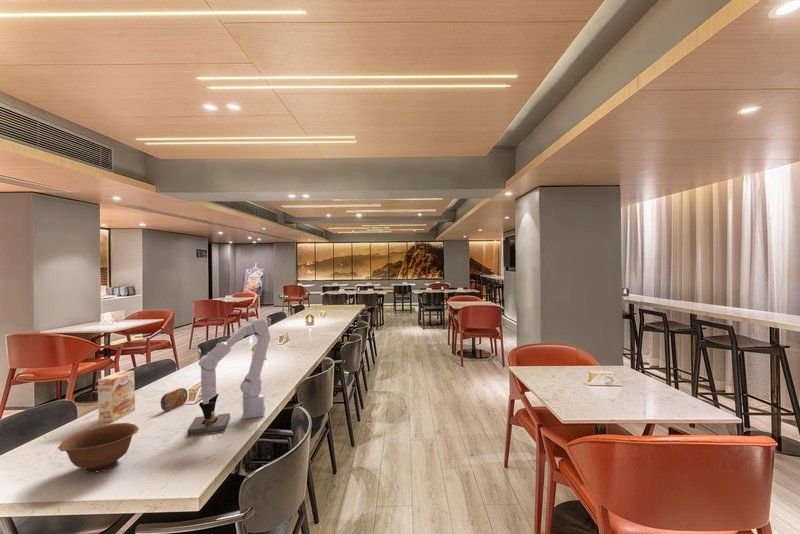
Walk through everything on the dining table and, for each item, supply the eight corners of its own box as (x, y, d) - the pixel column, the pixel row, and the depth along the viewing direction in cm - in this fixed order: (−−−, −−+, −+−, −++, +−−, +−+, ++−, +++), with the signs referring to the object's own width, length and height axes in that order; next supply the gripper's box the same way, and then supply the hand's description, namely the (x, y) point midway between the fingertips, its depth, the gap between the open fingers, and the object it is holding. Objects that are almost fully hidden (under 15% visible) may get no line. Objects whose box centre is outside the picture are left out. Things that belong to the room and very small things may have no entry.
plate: (230, 418, 174) (229, 412, 174) (225, 431, 160) (224, 424, 160) (195, 423, 170) (195, 416, 170) (187, 436, 157) (187, 429, 157)
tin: (165, 413, 183) (164, 395, 183) (159, 413, 184) (158, 395, 184) (188, 402, 198) (187, 386, 198) (183, 402, 199) (182, 385, 199)
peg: (216, 424, 168) (215, 410, 168) (213, 428, 164) (213, 414, 164) (206, 425, 167) (205, 411, 167) (203, 429, 163) (203, 415, 163)
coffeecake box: (113, 422, 174) (112, 378, 174) (97, 422, 174) (96, 379, 174) (136, 409, 189) (134, 370, 189) (121, 410, 189) (120, 370, 189)
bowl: (43, 489, 120) (42, 454, 120) (79, 456, 141) (79, 426, 141) (125, 476, 126) (124, 443, 126) (148, 447, 148) (147, 418, 148)
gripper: (202, 380, 171) (203, 410, 171) (194, 389, 157) (195, 423, 157) (219, 378, 173) (220, 408, 173) (213, 387, 159) (214, 420, 159)
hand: (209, 415), depth 165 cm, fingers open, 7 cm apart
